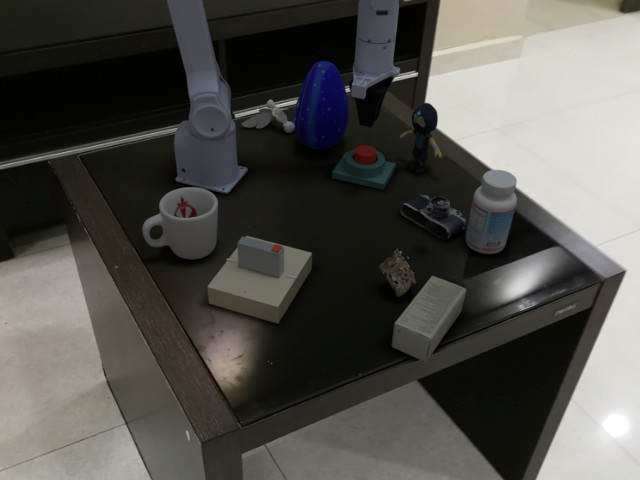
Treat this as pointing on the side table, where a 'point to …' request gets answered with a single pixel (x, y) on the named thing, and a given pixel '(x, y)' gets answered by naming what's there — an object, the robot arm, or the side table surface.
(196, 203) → the cup
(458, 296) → the box
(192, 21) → the robot arm
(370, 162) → the button
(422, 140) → the character figure
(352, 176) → the button block
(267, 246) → the gray rectangular block
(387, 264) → the rock
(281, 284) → the panel
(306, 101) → the ornament
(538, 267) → the side table surface
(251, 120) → the fairy figurine
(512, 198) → the pill bottle
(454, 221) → the camera
